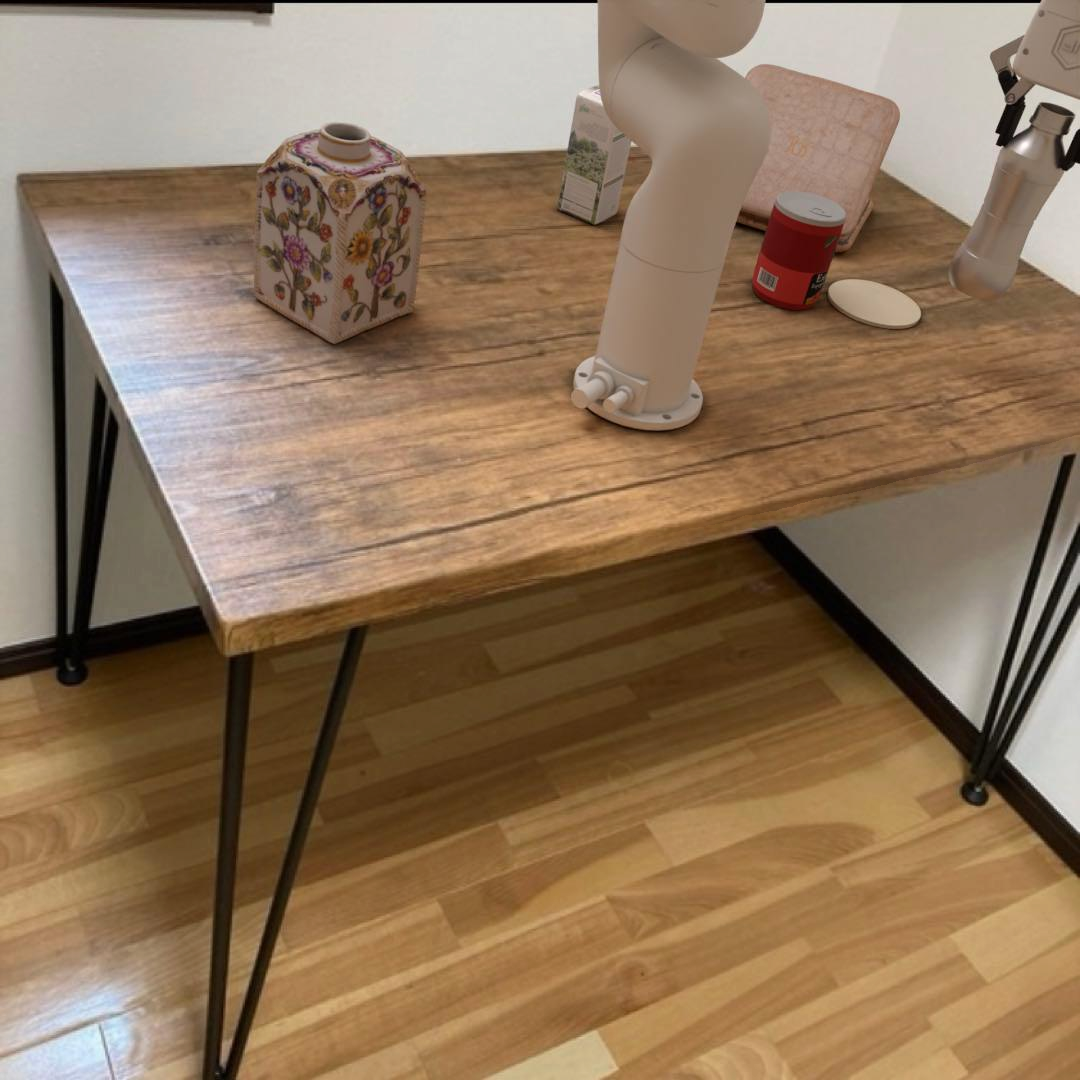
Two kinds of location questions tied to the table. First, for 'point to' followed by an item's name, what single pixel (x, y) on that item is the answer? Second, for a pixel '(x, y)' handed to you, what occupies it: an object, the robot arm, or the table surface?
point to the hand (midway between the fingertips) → (1035, 153)
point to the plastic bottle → (1012, 205)
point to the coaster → (874, 304)
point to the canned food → (797, 249)
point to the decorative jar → (338, 231)
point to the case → (819, 145)
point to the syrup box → (593, 162)
